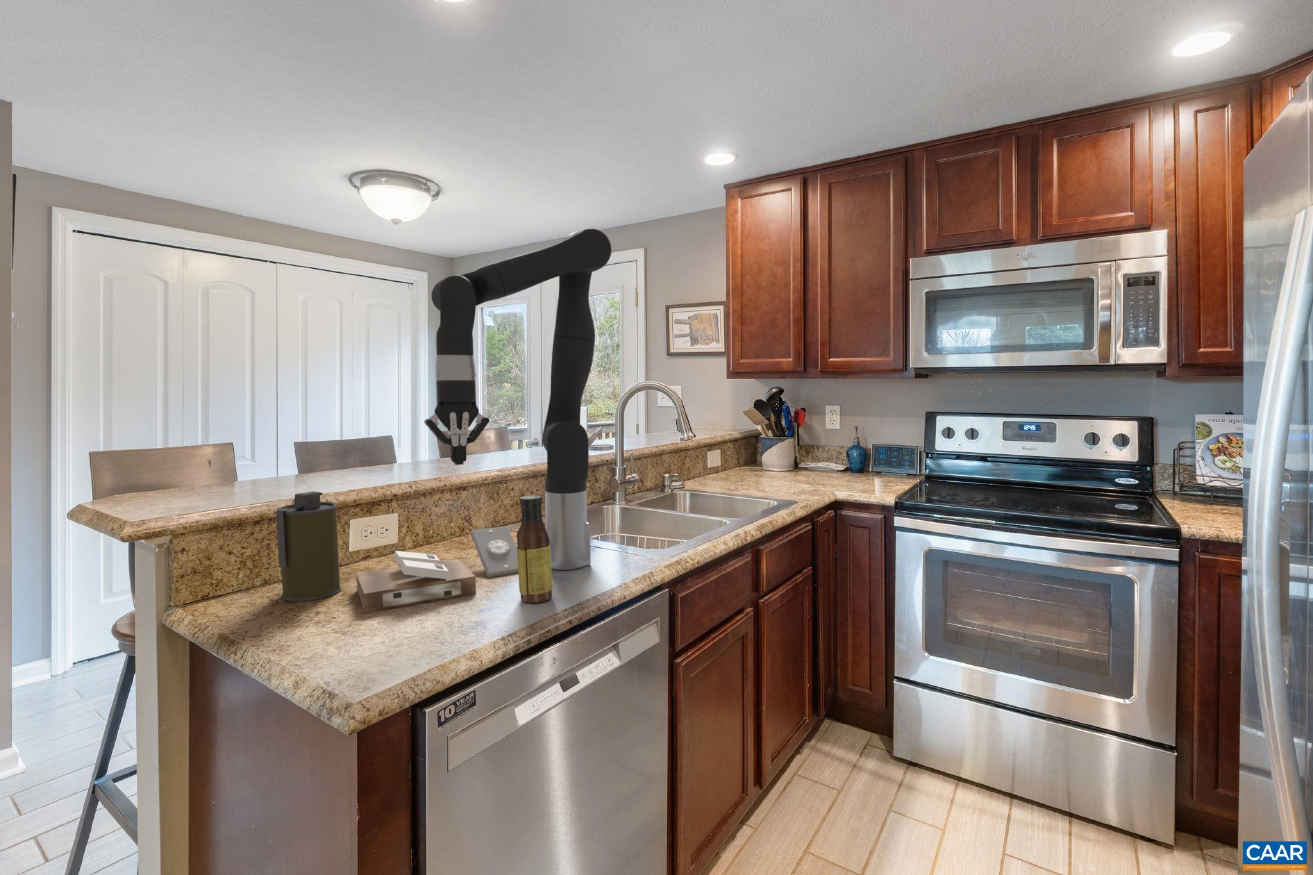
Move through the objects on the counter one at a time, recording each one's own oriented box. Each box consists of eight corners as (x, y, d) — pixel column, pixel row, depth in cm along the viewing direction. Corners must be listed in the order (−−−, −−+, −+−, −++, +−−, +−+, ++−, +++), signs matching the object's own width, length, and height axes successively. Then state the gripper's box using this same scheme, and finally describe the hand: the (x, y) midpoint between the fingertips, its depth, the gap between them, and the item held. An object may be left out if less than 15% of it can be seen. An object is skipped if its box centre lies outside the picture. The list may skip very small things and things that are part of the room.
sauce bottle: (558, 595, 122) (556, 495, 121) (542, 606, 117) (540, 500, 115) (528, 591, 125) (526, 493, 123) (511, 602, 119) (509, 498, 117)
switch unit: (459, 574, 136) (458, 559, 135) (477, 594, 123) (476, 577, 123) (357, 590, 126) (356, 573, 125) (365, 613, 113) (364, 594, 113)
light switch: (489, 571, 133) (471, 527, 143) (485, 591, 136) (468, 546, 146) (527, 564, 138) (507, 522, 148) (523, 584, 140) (504, 541, 150)
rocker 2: (441, 572, 125) (443, 563, 125) (446, 579, 121) (449, 570, 121) (399, 567, 121) (402, 558, 121) (404, 574, 117) (406, 564, 117)
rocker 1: (433, 562, 132) (435, 553, 132) (438, 568, 128) (440, 559, 128) (393, 558, 128) (395, 549, 128) (397, 564, 124) (399, 555, 124)
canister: (318, 581, 131) (314, 487, 130) (353, 588, 127) (348, 491, 125) (267, 597, 122) (261, 496, 120) (302, 606, 117) (296, 500, 115)
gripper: (483, 378, 132) (486, 460, 134) (417, 378, 125) (420, 464, 127) (494, 378, 126) (496, 464, 127) (425, 378, 119) (428, 468, 120)
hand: (458, 464), depth 127 cm, fingers closed
